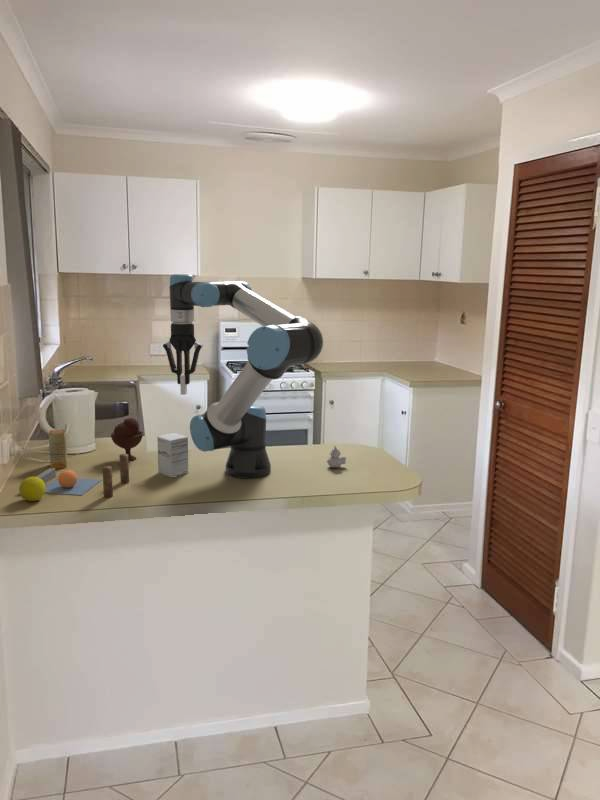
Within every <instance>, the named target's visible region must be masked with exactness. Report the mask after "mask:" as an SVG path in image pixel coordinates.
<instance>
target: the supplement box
mask: <svg viewBox="0 0 600 800" xmlns="http://www.w3.org/2000/svg"><path fill="white" fill-rule="evenodd" d="M156 439H157V440H156V441H157V471H158V472H157V473H158V474H162V475H165V476H167V477H169V478H171V477H172V478H174V476H175V477H178V476H177V475H179V476H182V475H181V474H183V475H185V474H184V473H186V474H189V437H188V436H186V435H182V434H179V433H176V432H171V433H166V434H163V435H158V436H157V437H156Z"/></svg>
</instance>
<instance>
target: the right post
mask: <svg viewBox="0 0 600 800" xmlns="http://www.w3.org/2000/svg"><path fill="white" fill-rule="evenodd" d="M129 466H130V465H129V462H128V454H126V453H121V454H119V475H120V484H123V485H125V484H126V483H127V484H129V483H130V472H129V471H130V467H129Z"/></svg>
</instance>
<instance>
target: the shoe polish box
mask: <svg viewBox="0 0 600 800" xmlns="http://www.w3.org/2000/svg"><path fill="white" fill-rule="evenodd" d="M48 445H49V446H48V448H49V449H48V450H49V461H50V462H49V463H50V468H52V469H53V468H55V469H66V468H67V467H68V452H67V451H68V450H67V449H68V448H67V433H66V429H50V430H49V432H48Z"/></svg>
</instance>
